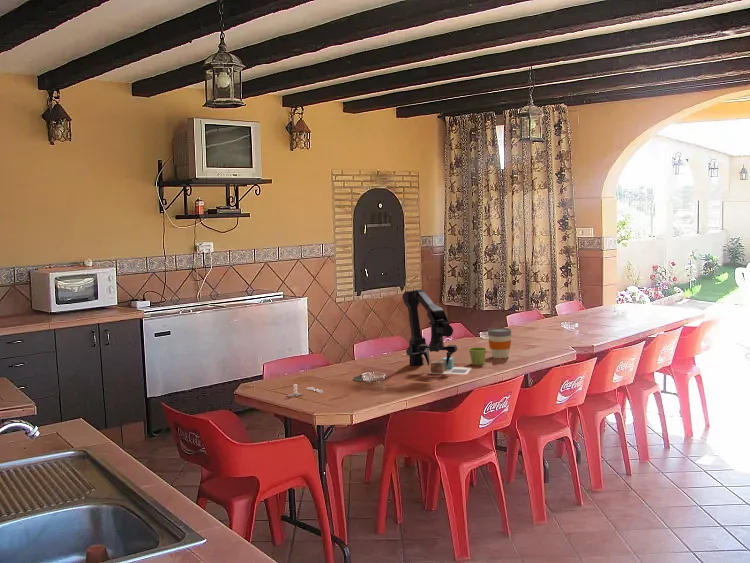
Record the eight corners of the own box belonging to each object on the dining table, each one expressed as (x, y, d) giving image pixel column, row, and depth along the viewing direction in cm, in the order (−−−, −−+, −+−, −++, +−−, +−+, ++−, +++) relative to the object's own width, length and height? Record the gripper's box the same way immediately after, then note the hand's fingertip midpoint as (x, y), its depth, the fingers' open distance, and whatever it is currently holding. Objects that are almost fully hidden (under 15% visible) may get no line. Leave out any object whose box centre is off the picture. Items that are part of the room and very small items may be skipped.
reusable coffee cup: (496, 360, 405) (495, 332, 403) (484, 356, 416) (483, 329, 415) (516, 357, 409) (515, 330, 408) (503, 354, 421) (503, 327, 419)
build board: (428, 375, 375) (428, 373, 375) (435, 368, 390) (435, 366, 390) (466, 376, 369) (466, 374, 369) (472, 369, 384) (472, 367, 384)
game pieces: (294, 399, 337) (293, 387, 337) (278, 395, 347) (277, 382, 347) (372, 382, 366) (372, 370, 366) (355, 378, 376) (355, 366, 376)
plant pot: (477, 368, 387) (477, 351, 386) (465, 365, 394) (464, 349, 394) (491, 365, 392) (490, 348, 391) (478, 362, 400) (477, 346, 399)
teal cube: (442, 368, 383) (441, 359, 383) (444, 366, 388) (443, 357, 387) (451, 369, 382) (451, 359, 381) (453, 367, 386) (453, 357, 386)
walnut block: (430, 372, 375) (430, 362, 375) (433, 370, 381) (433, 360, 380) (442, 373, 373) (442, 363, 373) (445, 370, 379) (445, 360, 379)
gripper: (414, 336, 371) (415, 368, 372) (452, 337, 365) (453, 369, 367) (420, 332, 381) (421, 363, 383) (456, 333, 376) (457, 364, 377)
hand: (437, 365), depth 377 cm, fingers open, 9 cm apart
